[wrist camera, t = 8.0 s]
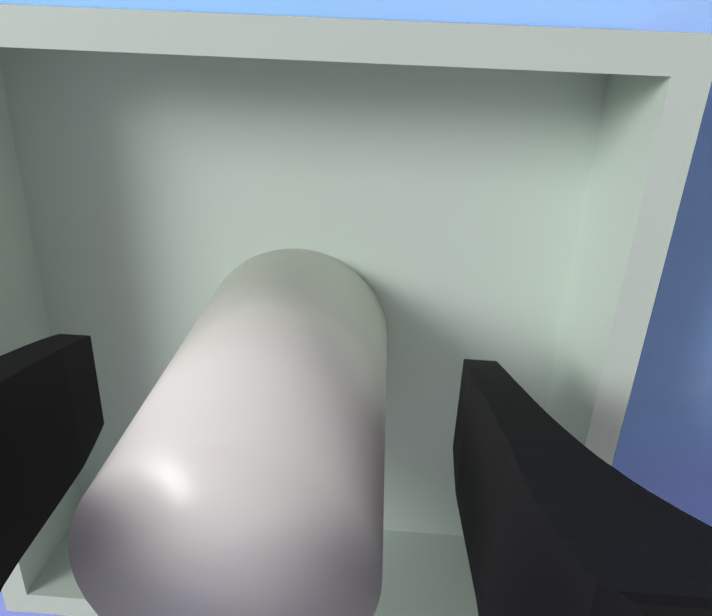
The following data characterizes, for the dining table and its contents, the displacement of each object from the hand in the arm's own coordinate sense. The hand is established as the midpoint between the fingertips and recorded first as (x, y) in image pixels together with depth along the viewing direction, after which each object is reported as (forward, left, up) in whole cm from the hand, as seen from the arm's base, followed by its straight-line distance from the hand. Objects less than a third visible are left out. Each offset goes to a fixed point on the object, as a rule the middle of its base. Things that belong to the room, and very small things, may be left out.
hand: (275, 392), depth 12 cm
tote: (0, 0, -3) cm, 3 cm away
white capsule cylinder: (0, 0, -3) cm, 3 cm away
